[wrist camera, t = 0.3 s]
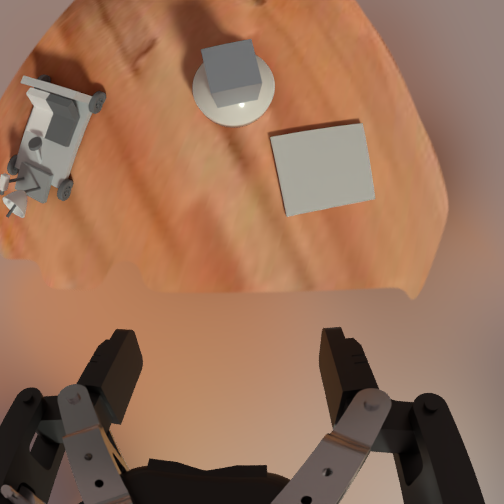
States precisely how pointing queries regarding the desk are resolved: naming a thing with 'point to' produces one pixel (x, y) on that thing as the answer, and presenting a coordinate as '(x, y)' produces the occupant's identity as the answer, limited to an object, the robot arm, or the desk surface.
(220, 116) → the white round part
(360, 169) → the rubber mat
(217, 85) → the cap block
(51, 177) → the toy car
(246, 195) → the desk surface
